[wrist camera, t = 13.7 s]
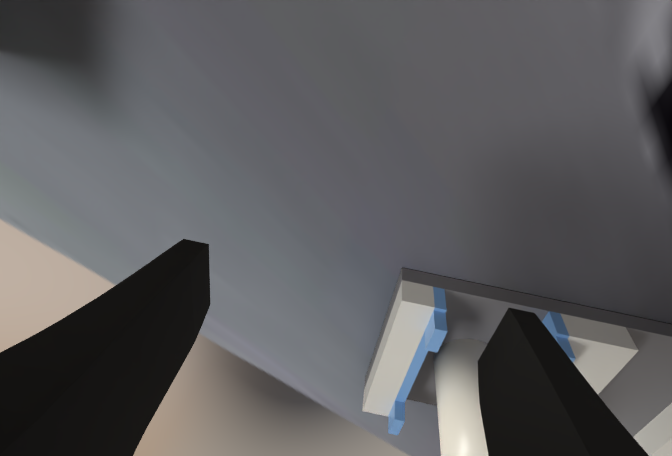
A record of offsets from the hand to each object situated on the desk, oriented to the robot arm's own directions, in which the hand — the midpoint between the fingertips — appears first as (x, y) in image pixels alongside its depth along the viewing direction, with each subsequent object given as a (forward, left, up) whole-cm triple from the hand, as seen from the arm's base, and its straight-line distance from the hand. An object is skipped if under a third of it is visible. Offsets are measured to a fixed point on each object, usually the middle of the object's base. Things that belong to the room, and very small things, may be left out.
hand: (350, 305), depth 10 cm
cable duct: (-13, +12, -10) cm, 21 cm away
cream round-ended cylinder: (-8, +12, -9) cm, 17 cm away
